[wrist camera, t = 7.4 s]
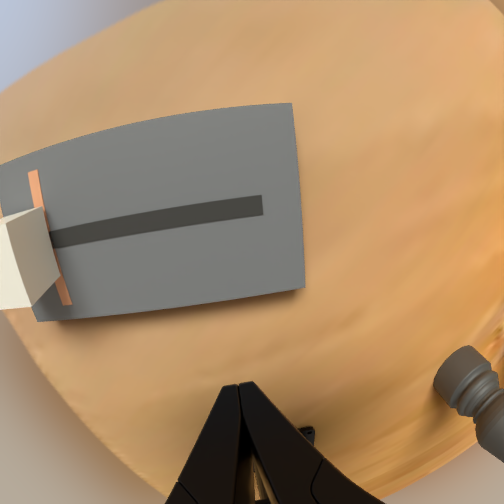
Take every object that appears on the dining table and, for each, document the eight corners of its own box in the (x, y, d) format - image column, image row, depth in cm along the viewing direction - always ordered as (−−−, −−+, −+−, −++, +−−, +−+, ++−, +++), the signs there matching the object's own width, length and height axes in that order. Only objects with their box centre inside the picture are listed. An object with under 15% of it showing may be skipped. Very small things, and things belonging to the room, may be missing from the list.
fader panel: (296, 273, 19) (305, 287, 17) (49, 307, 17) (37, 322, 16) (282, 107, 16) (292, 102, 14) (12, 164, 14) (-7, 167, 12)
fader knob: (60, 275, 15) (31, 306, 11) (23, 281, 14) (-8, 310, 11) (42, 205, 13) (5, 223, 10) (4, 216, 13) (-33, 235, 10)
